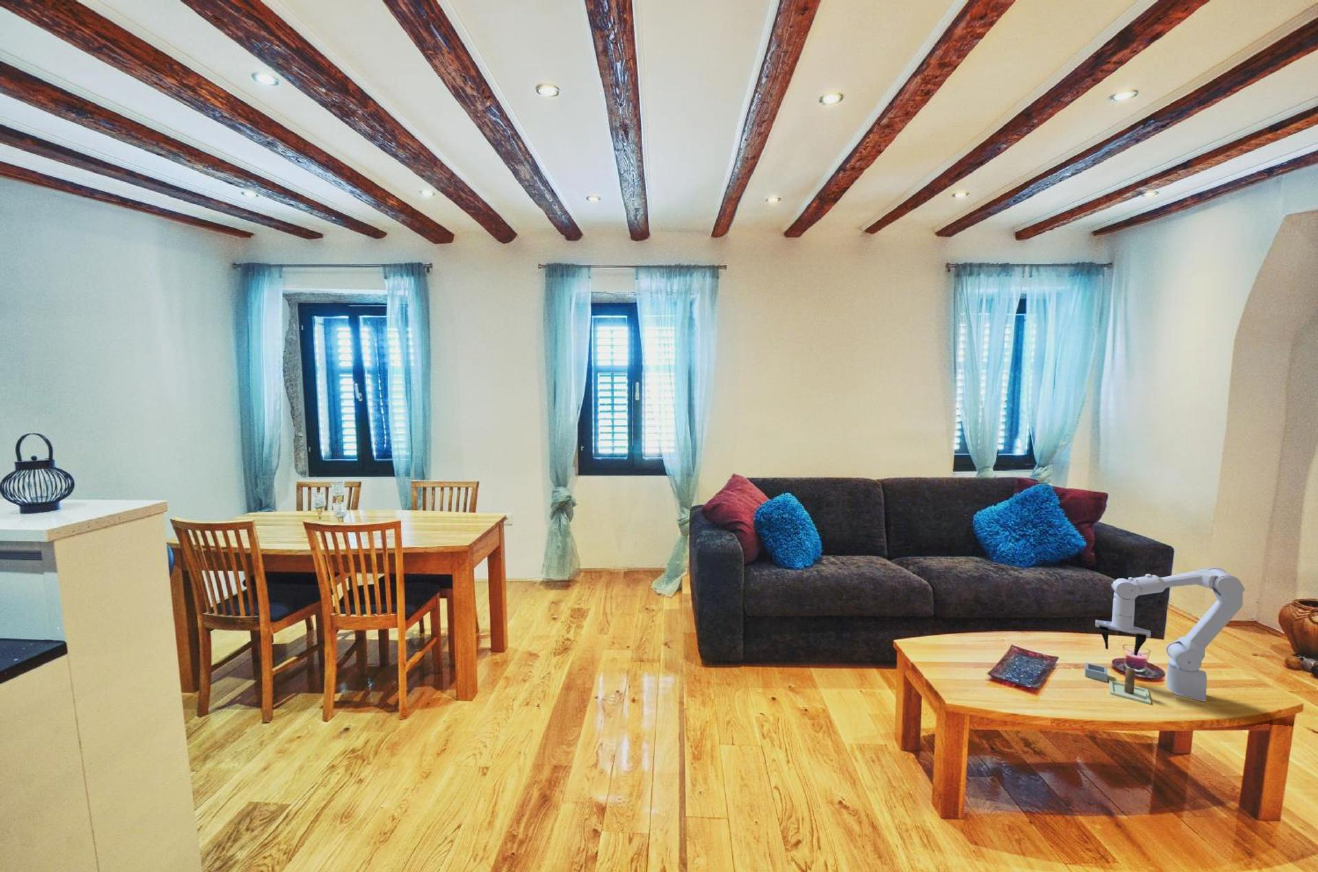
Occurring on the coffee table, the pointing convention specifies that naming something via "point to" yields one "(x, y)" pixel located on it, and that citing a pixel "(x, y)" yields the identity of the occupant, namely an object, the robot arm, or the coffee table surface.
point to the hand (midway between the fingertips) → (1120, 651)
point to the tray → (1138, 695)
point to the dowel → (1129, 680)
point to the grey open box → (1096, 672)
